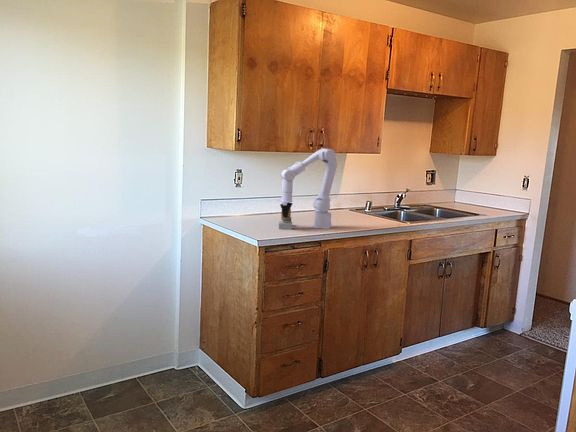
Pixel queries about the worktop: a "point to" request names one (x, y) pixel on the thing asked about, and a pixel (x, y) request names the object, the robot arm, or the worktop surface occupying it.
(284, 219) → the walnut block
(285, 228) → the slate base block
